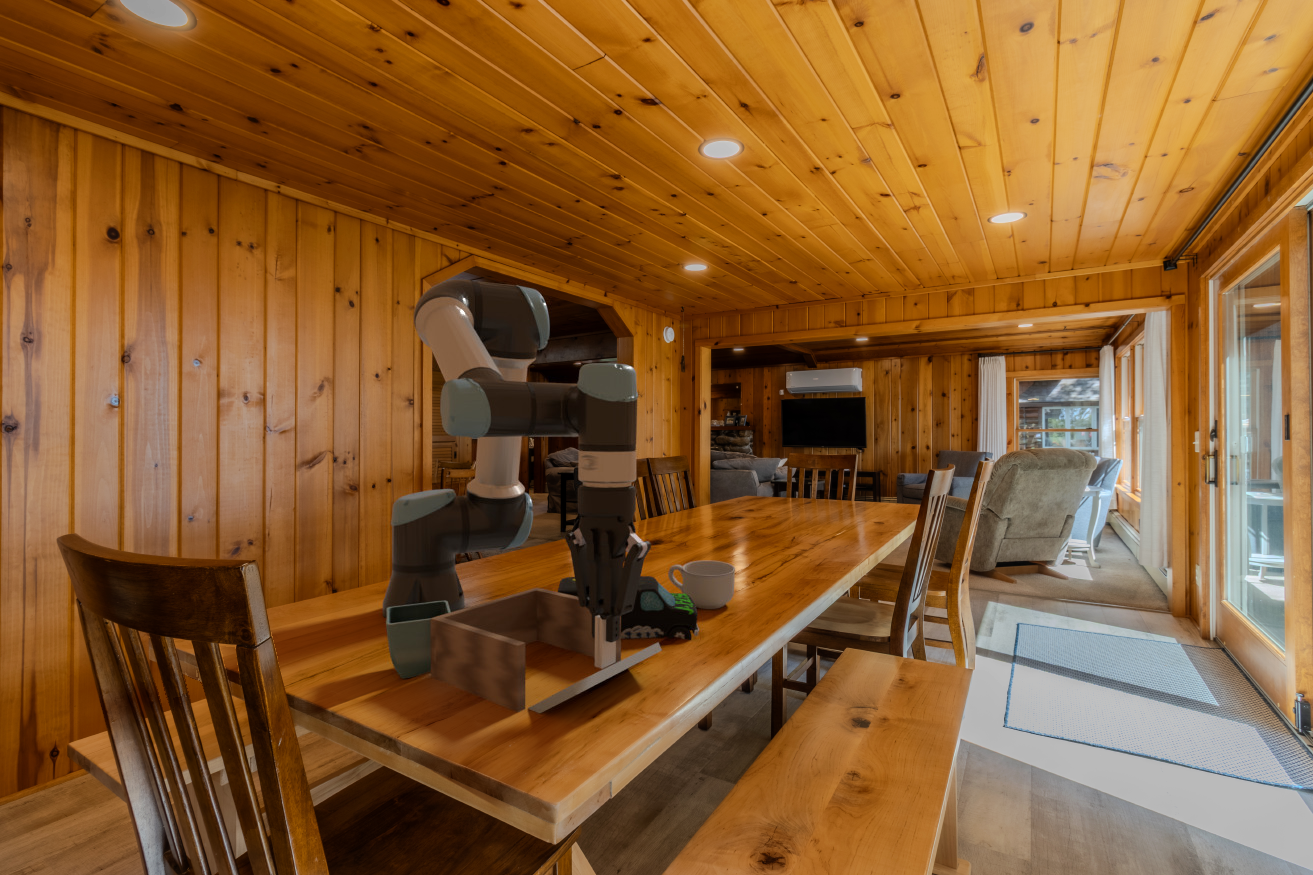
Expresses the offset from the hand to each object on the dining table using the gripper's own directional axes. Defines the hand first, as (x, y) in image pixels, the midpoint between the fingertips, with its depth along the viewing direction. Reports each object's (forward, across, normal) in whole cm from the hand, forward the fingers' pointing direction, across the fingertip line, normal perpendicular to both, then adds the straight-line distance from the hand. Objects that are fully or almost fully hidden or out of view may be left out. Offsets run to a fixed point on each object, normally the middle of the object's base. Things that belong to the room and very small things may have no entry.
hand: (605, 663), depth 79 cm
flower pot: (+6, -30, -8) cm, 31 cm away
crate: (+6, -15, 0) cm, 16 cm away
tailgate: (+4, -5, 0) cm, 7 cm away
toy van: (+6, -14, +22) cm, 27 cm away
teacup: (+6, -14, +46) cm, 49 cm away
